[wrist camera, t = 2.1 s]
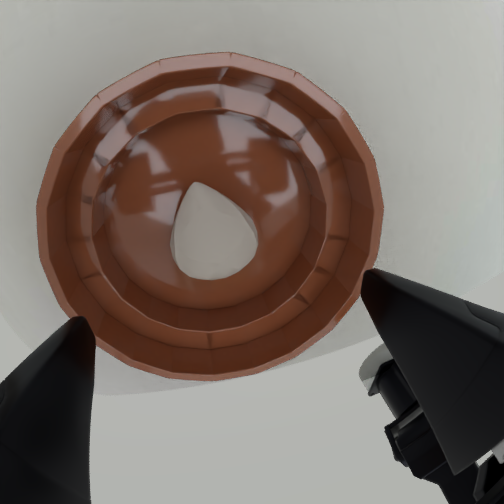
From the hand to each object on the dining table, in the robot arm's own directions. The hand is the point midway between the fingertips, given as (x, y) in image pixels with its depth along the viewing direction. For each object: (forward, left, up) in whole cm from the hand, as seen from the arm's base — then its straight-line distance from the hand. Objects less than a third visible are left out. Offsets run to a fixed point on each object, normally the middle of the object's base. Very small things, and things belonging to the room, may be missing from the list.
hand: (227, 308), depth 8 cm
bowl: (0, 0, -8) cm, 8 cm away
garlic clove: (0, 0, -7) cm, 7 cm away
